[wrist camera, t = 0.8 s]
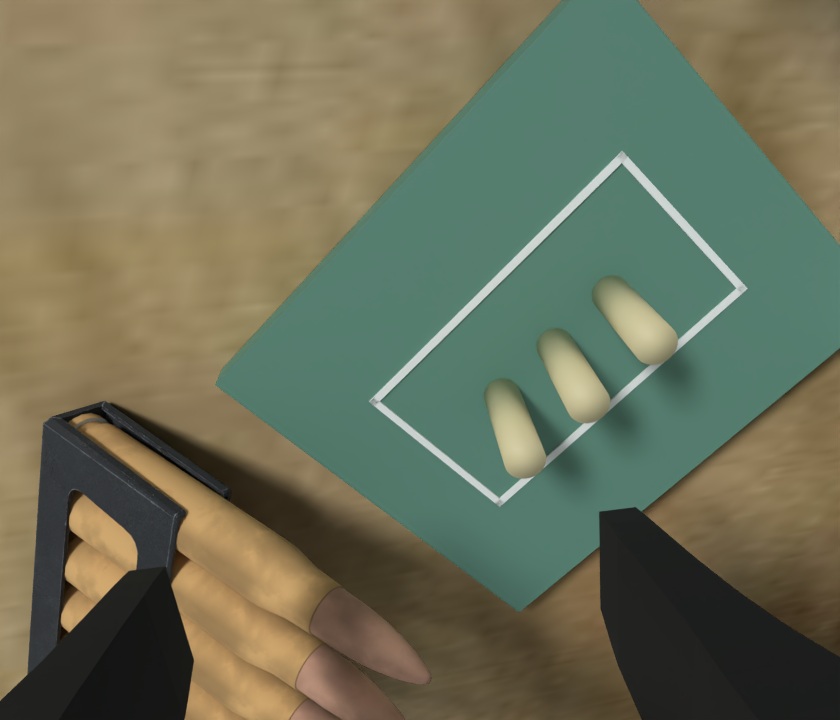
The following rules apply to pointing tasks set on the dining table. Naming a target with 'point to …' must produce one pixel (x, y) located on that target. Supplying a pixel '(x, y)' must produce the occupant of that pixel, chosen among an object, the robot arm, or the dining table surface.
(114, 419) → the ammunition clip
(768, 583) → the dining table surface
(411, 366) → the board
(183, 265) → the dining table surface
